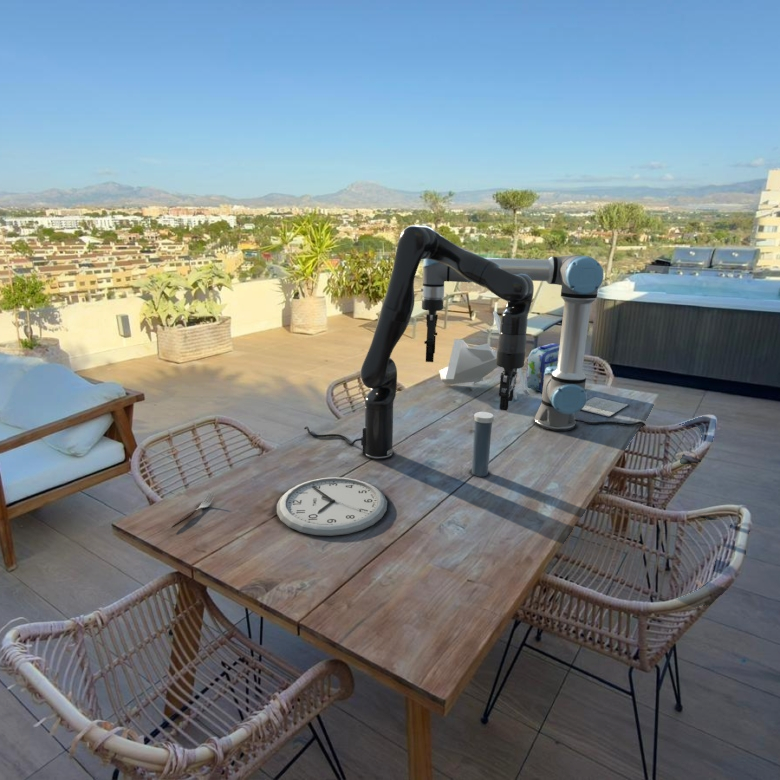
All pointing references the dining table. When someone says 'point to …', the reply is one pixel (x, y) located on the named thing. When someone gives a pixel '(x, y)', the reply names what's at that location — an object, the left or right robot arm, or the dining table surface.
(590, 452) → the dining table surface
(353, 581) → the dining table surface
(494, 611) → the dining table surface
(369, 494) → the wall clock
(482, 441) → the jar
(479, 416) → the lid
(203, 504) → the fork
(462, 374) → the white plastic object
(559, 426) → the right robot arm
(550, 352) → the lunch box
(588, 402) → the invitation card
